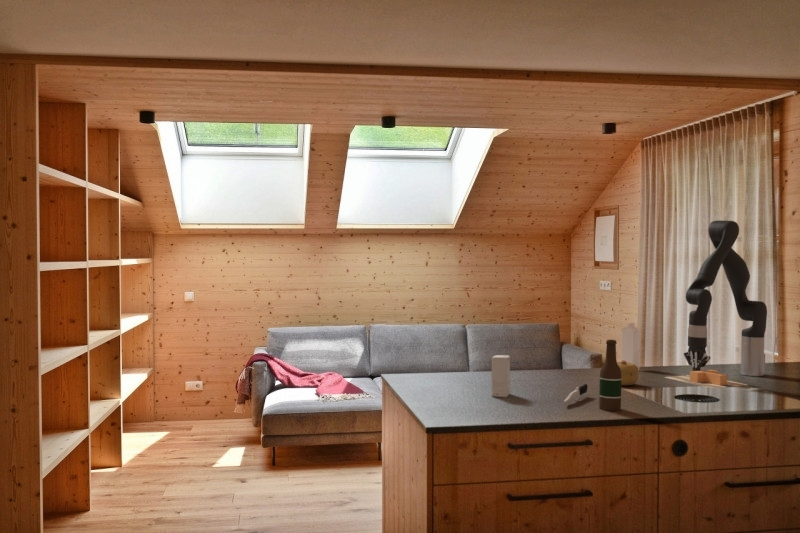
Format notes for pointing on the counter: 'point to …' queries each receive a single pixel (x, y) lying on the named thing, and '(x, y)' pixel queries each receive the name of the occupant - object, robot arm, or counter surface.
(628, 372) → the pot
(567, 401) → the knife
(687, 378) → the push board
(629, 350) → the milk
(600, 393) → the beer bottle
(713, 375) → the t block
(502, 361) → the skincare box
